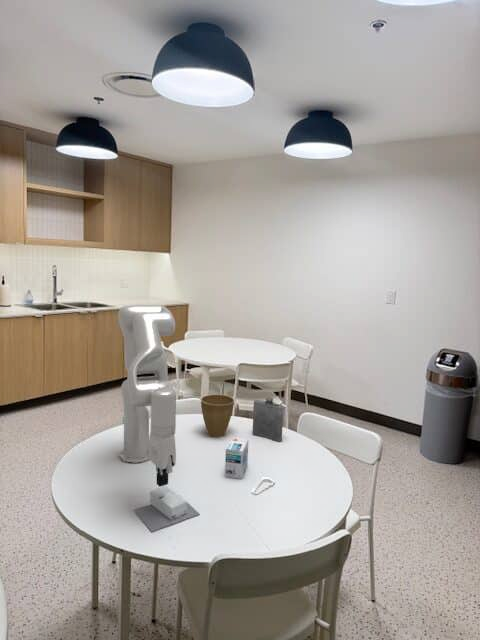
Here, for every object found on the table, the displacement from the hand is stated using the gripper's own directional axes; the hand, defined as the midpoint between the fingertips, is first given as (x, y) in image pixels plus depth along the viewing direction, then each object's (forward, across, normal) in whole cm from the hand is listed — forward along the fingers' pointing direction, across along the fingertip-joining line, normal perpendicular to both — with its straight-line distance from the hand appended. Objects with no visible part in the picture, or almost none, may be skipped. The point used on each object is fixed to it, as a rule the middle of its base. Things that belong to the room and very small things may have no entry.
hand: (162, 484), depth 140 cm
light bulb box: (+8, -7, +34) cm, 36 cm away
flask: (+8, -25, +64) cm, 69 cm away
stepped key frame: (+9, +7, +36) cm, 37 cm away
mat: (+8, +3, 0) cm, 9 cm away
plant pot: (+8, -40, +47) cm, 62 cm away
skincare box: (+6, -5, 0) cm, 7 cm away
